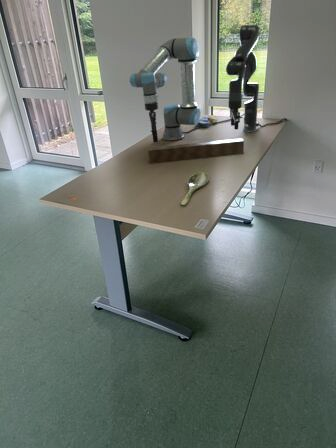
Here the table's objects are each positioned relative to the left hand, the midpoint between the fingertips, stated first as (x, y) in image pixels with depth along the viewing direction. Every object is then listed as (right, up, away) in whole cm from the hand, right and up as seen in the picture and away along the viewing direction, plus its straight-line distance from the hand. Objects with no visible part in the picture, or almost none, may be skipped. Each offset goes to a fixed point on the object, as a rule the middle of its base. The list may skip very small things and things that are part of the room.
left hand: (155, 138), depth 203 cm
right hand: (+48, +7, 0) cm, 49 cm away
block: (+26, -10, +8) cm, 29 cm away
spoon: (+21, -35, -32) cm, 52 cm away
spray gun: (+40, +30, +71) cm, 87 cm away
